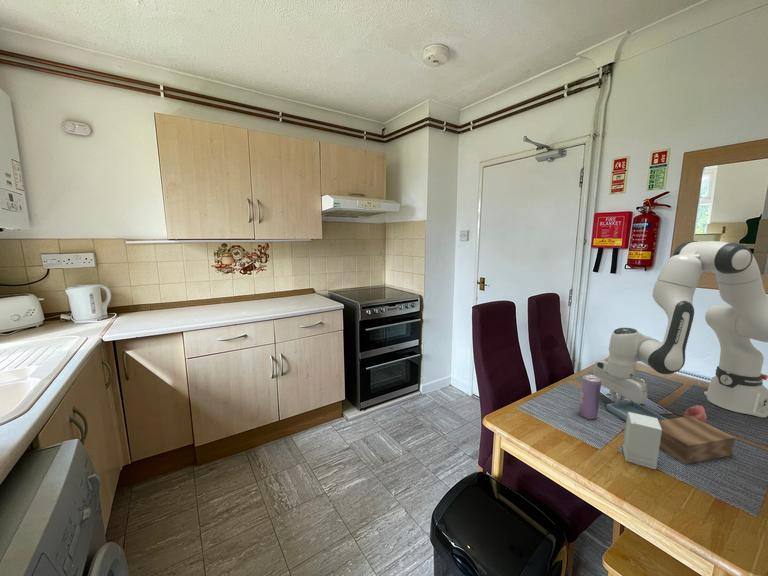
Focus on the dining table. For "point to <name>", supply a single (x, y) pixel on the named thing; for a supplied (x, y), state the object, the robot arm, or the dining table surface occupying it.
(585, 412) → the beverage can
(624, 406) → the grey-blue tray
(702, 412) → the flower
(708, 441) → the cubby
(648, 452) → the supplement box
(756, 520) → the dining table surface
